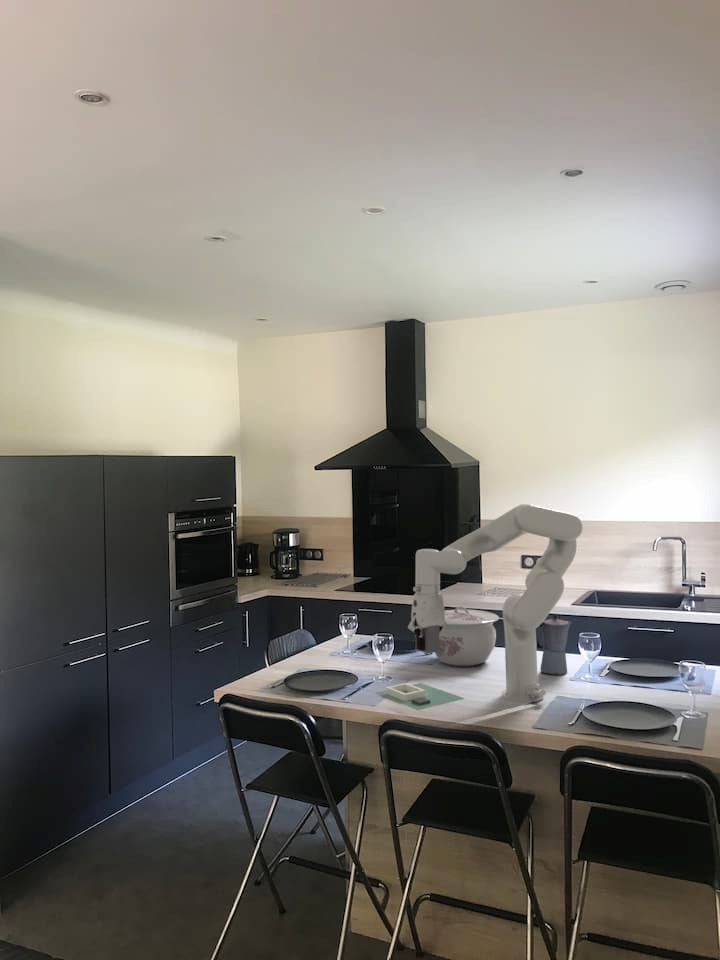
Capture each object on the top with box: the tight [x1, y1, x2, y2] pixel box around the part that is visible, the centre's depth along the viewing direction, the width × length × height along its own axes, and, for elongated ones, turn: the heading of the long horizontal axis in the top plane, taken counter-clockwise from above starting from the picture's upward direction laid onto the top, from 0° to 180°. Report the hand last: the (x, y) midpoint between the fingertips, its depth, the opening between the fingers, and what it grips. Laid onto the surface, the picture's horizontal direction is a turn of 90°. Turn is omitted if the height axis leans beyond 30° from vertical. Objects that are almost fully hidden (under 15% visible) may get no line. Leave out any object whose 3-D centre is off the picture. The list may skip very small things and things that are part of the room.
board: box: [375, 682, 466, 711], centre depth 233 cm, size 22×18×3 cm
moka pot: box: [536, 613, 572, 675], centre depth 260 cm, size 10×15×20 cm, turn 112°
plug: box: [415, 625, 439, 654], centre depth 232 cm, size 7×4×8 cm, turn 34°
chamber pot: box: [433, 605, 500, 668], centre depth 278 cm, size 28×28×21 cm
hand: (427, 648), depth 232 cm, fingers closed on plug, 4 cm apart
